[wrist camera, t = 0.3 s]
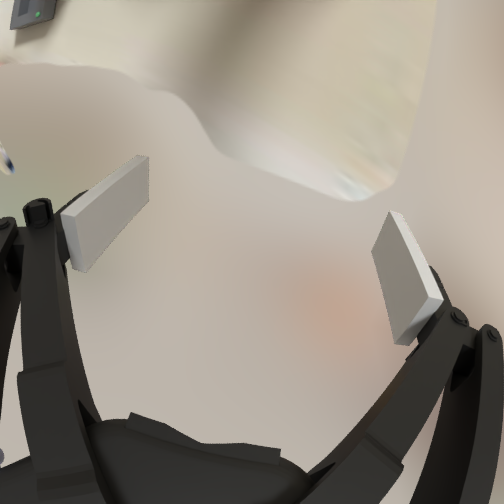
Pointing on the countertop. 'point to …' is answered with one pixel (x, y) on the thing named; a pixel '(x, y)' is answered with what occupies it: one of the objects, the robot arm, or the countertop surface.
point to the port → (31, 12)
